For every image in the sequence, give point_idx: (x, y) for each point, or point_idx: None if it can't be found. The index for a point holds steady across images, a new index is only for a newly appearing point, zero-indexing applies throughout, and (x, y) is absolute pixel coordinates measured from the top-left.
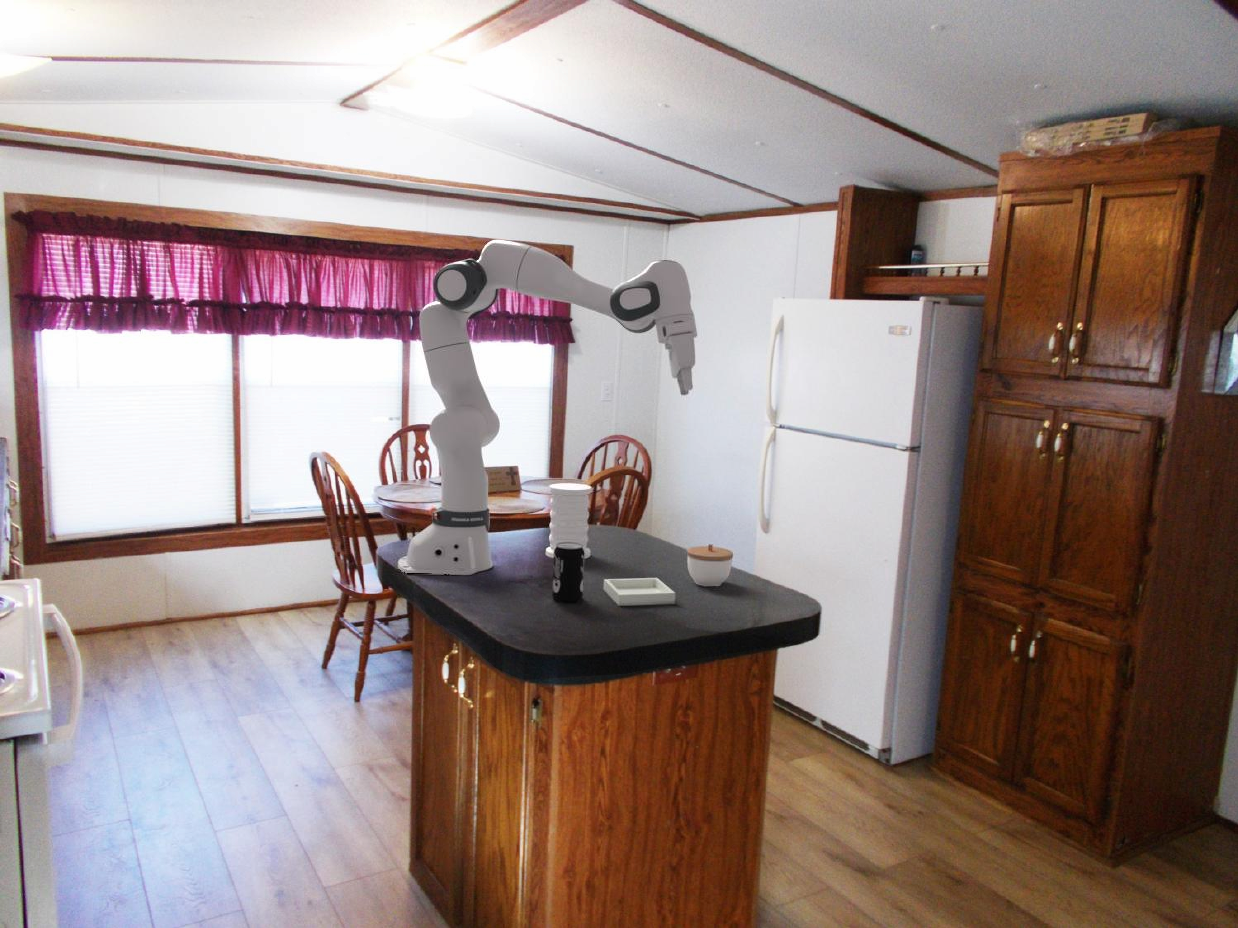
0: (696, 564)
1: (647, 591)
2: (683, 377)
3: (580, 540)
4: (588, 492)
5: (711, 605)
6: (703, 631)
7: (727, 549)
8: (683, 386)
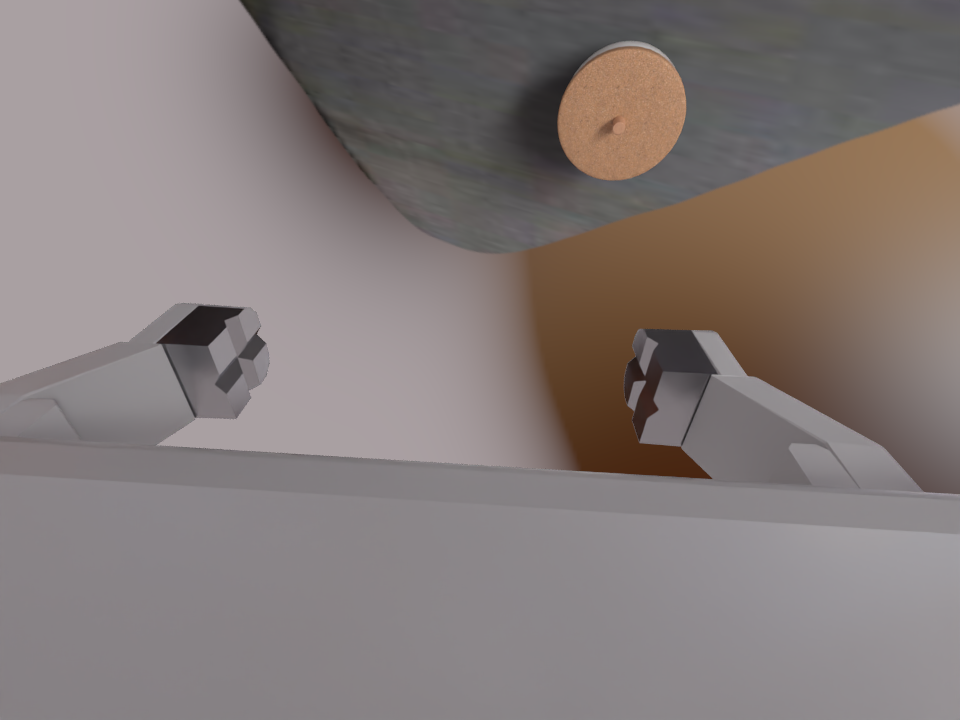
0: (583, 64)
1: None
2: (45, 374)
3: None
4: None
5: (439, 60)
6: (264, 4)
7: (635, 174)
8: (703, 420)
